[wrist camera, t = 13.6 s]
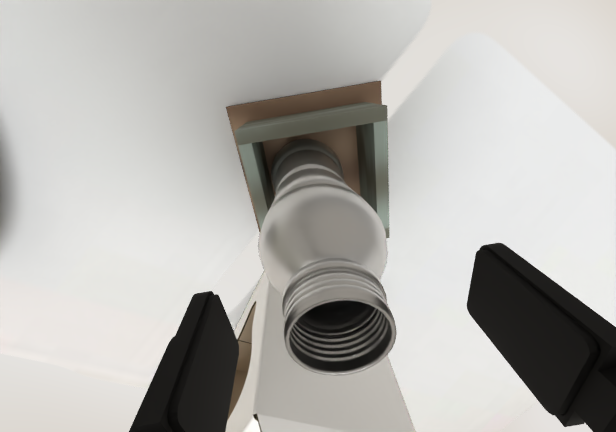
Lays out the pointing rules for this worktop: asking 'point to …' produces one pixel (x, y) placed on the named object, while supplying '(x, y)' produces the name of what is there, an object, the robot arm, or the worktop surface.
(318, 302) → the silver bottle
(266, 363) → the gable box
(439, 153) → the worktop surface
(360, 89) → the bottle holder
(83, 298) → the worktop surface
